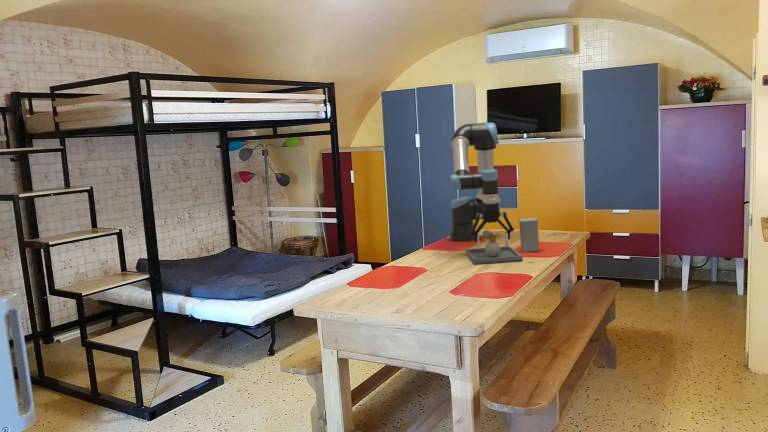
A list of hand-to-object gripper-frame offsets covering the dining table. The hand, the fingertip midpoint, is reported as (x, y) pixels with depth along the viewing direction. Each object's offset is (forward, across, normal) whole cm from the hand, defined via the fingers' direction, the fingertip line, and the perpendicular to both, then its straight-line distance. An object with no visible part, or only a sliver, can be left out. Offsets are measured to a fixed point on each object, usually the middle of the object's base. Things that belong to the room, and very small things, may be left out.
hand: (492, 247), depth 290 cm
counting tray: (+5, 0, 0) cm, 5 cm away
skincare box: (+5, +20, +10) cm, 23 cm away
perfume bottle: (+4, -1, 0) cm, 5 cm away
